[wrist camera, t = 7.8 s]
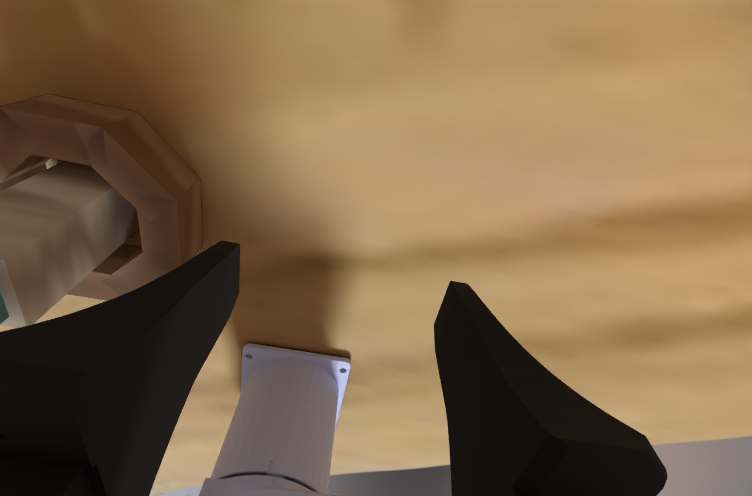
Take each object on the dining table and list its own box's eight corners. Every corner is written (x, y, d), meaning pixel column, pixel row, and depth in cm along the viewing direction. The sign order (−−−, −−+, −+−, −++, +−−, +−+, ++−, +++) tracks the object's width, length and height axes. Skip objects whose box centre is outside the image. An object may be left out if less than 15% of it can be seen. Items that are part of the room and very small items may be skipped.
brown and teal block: (143, 224, 23) (15, 339, 15) (82, 213, 23) (-82, 324, 15) (137, 171, 22) (-11, 268, 14) (71, 157, 21) (-122, 249, 13)
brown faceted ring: (204, 282, 26) (184, 312, 23) (36, 255, 25) (-4, 283, 22) (198, 124, 20) (171, 140, 18) (-18, 80, 19) (-79, 91, 17)
